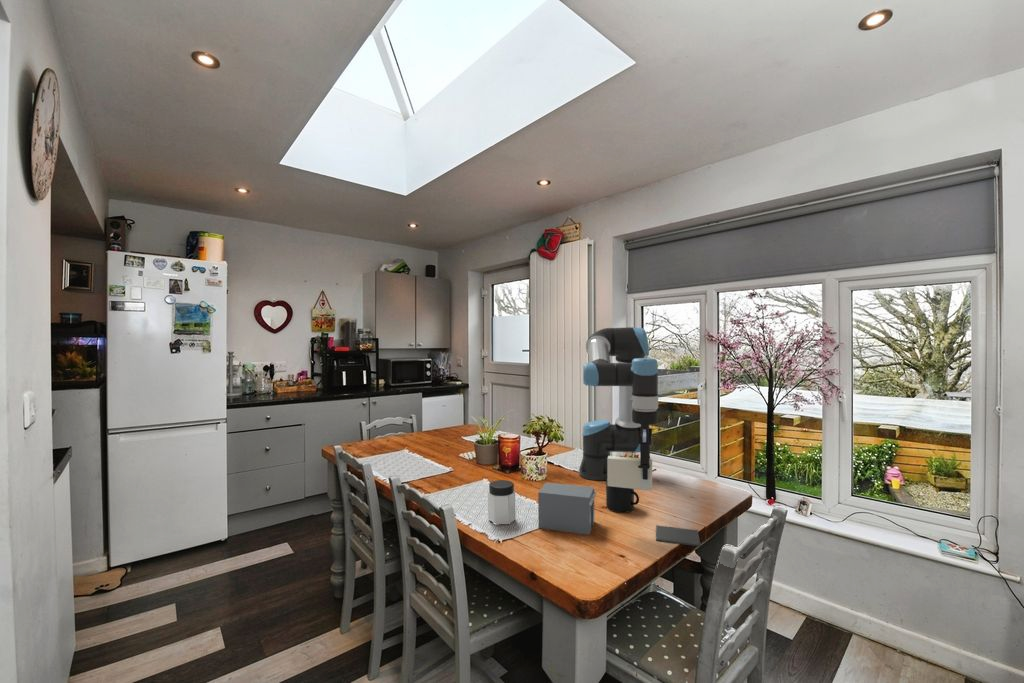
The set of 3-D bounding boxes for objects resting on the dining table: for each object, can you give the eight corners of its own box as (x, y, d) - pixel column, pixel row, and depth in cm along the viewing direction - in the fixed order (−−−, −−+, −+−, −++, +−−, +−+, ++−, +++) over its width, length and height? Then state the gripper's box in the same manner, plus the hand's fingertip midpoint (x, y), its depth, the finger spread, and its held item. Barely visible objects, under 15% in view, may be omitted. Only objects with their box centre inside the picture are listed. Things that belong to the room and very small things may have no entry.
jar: (515, 515, 146) (515, 479, 146) (515, 525, 138) (515, 487, 138) (489, 515, 146) (488, 479, 146) (487, 525, 138) (487, 488, 138)
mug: (632, 517, 144) (631, 490, 144) (601, 507, 152) (600, 482, 152) (645, 509, 150) (645, 483, 150) (615, 500, 159) (615, 476, 159)
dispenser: (546, 515, 146) (546, 482, 146) (596, 521, 140) (596, 487, 140) (538, 528, 136) (538, 492, 136) (591, 535, 131) (591, 498, 131)
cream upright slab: (608, 482, 136) (608, 455, 136) (652, 487, 131) (652, 459, 131) (607, 486, 133) (607, 458, 133) (652, 490, 129) (652, 462, 129)
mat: (656, 526, 136) (656, 525, 136) (697, 531, 132) (697, 530, 132) (656, 540, 127) (656, 539, 127) (700, 546, 123) (700, 545, 123)
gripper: (633, 405, 139) (634, 478, 139) (630, 413, 124) (630, 495, 124) (658, 406, 137) (658, 480, 137) (657, 414, 122) (658, 498, 122)
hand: (645, 487), depth 131 cm, fingers closed on cream upright slab, 3 cm apart
